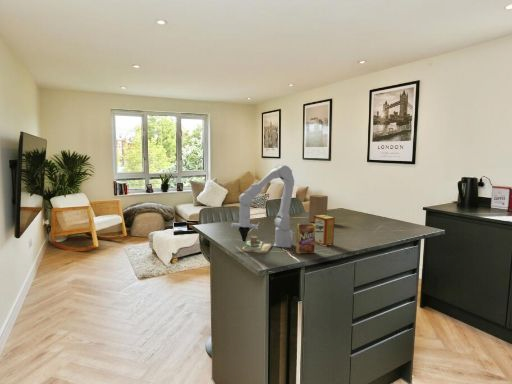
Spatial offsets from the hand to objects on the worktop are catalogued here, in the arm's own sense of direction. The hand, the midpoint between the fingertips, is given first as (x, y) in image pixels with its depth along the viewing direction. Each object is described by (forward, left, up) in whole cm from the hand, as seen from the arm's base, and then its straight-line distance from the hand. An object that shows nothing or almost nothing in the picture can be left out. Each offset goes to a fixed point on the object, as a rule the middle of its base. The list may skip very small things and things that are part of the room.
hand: (244, 241), depth 174 cm
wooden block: (-33, -81, -4) cm, 88 cm away
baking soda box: (-40, -21, -4) cm, 46 cm away
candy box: (-32, 0, -4) cm, 33 cm away
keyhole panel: (-5, 0, -2) cm, 6 cm away
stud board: (-7, 0, -3) cm, 8 cm away
